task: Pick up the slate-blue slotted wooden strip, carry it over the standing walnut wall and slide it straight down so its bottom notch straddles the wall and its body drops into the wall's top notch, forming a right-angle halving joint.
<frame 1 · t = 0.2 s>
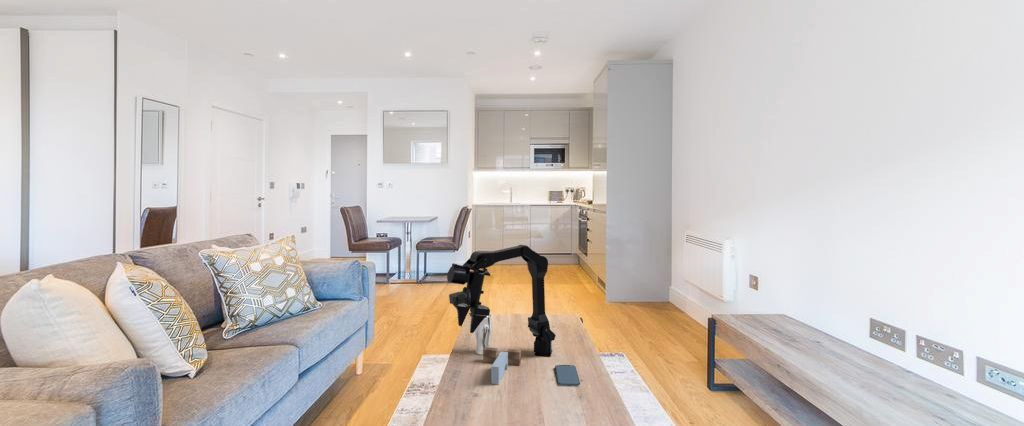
hand: (465, 329, 152), 15 cm above the table, tool pointing down, fingers open, 9 cm apart
beer glass: (482, 352, 171), on the table
slate plate: (499, 375, 149), on the table
smartphone: (567, 378, 148), on the table
walnut plate: (501, 362, 160), on the table
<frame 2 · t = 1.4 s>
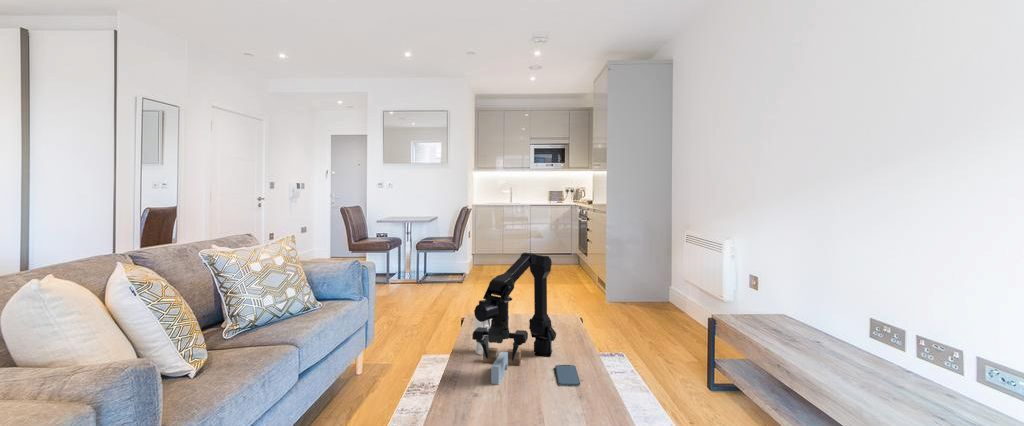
hand: (500, 359, 148), 6 cm above the table, tool pointing down, fingers open, 9 cm apart
nothing on the table moved.
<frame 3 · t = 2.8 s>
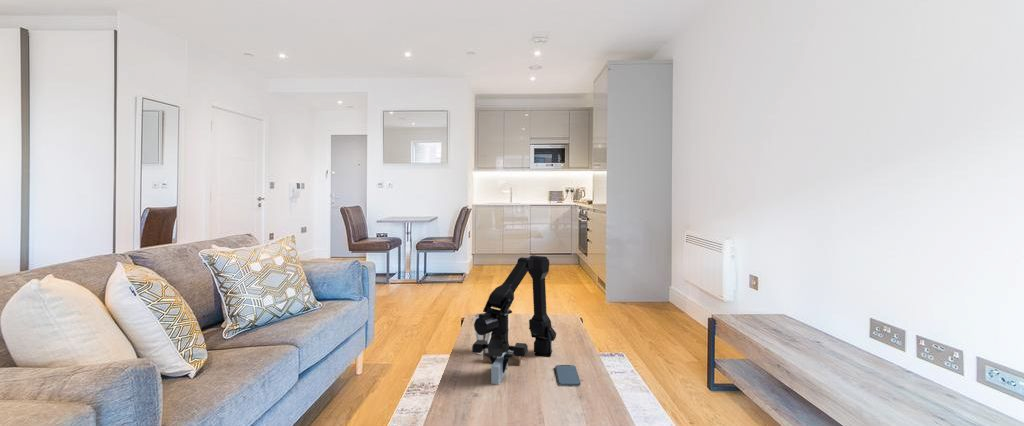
hand: (499, 372, 148), 1 cm above the table, tool pointing down, fingers closed on slate plate, 2 cm apart
slate plate: (499, 375, 149), on the table, touching gripper
everything else where it was.
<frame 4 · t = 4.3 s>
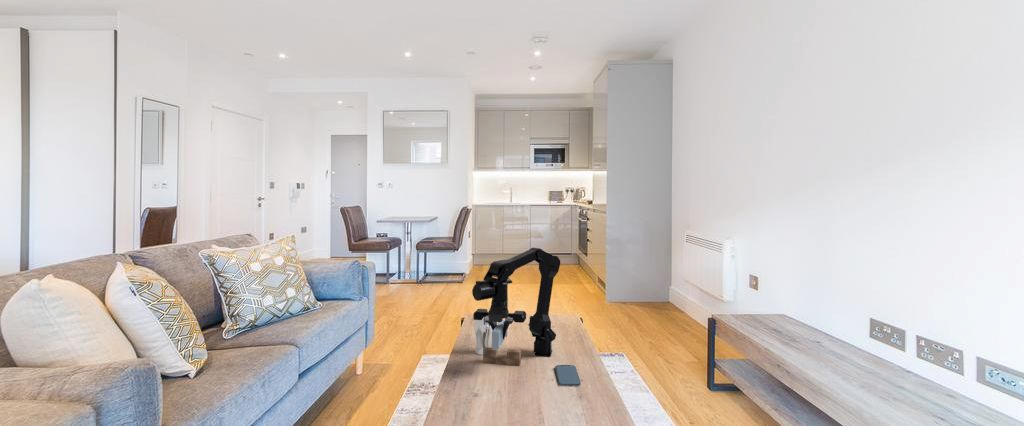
hand: (499, 338, 156), 11 cm above the table, tool pointing down, fingers closed on slate plate, 2 cm apart
slate plate: (499, 342, 156), point 9 cm above the table, touching gripper
everything else where it was.
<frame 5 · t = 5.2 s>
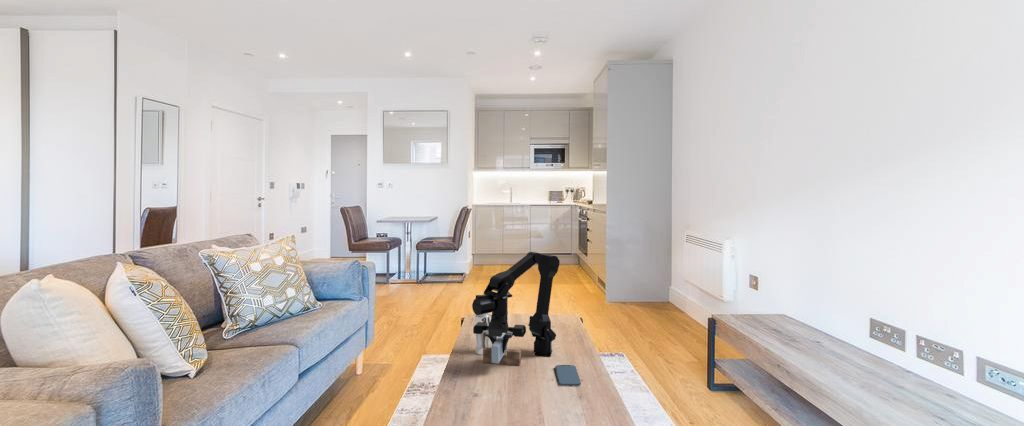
hand: (499, 352, 156), 5 cm above the table, tool pointing down, fingers closed on slate plate, 2 cm apart
slate plate: (499, 355, 156), point 4 cm above the table, touching gripper
everything else where it was.
when the fingers open (2 cm above the table, at t = 6.1 s): slate plate stays where it is, on the table.
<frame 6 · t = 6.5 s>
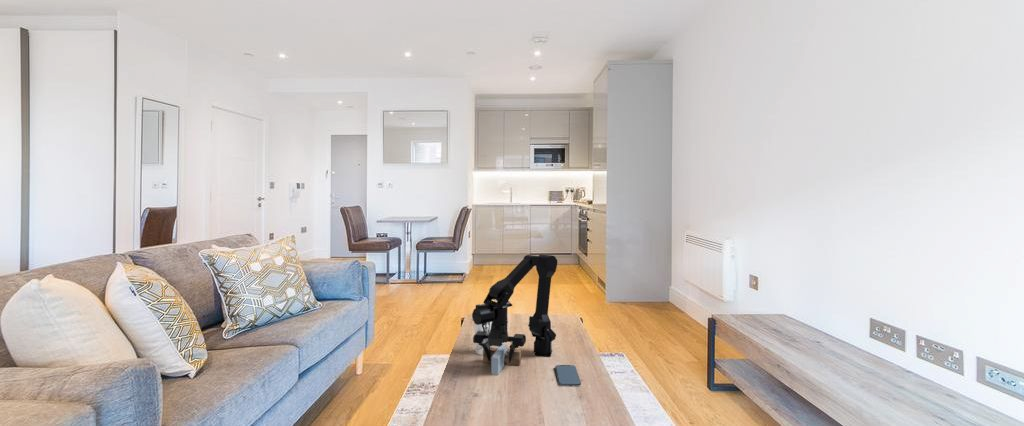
hand: (499, 361, 156), 2 cm above the table, tool pointing down, fingers open, 7 cm apart
slate plate: (499, 367, 156), on the table
everything else where it was.
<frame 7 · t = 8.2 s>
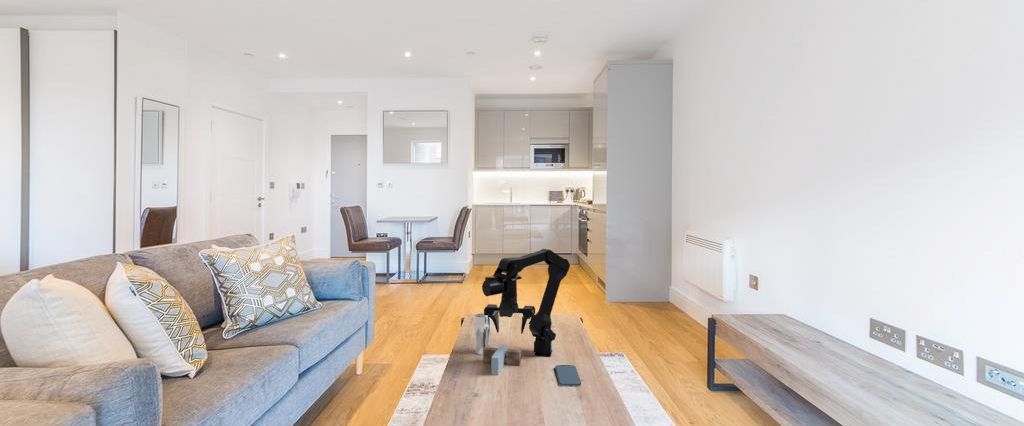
hand: (510, 333, 160), 11 cm above the table, tool pointing down, fingers open, 9 cm apart
nothing on the table moved.
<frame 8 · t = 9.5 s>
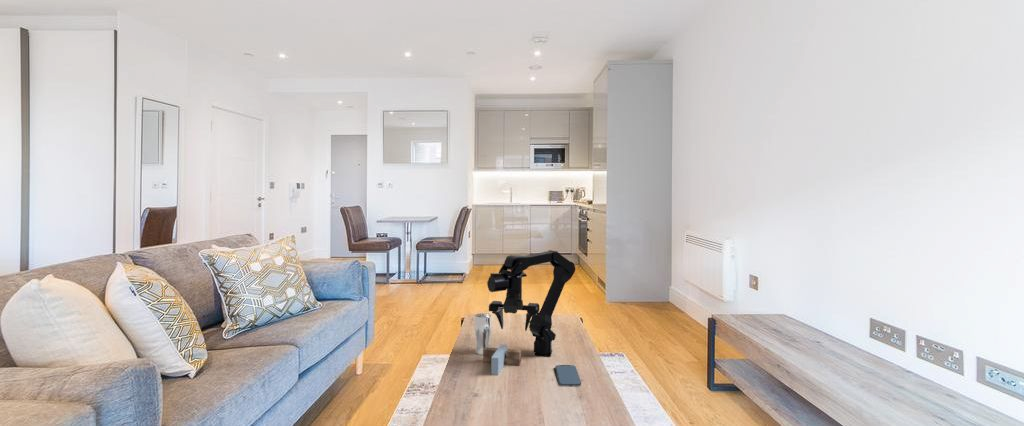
hand: (514, 329, 162), 12 cm above the table, tool pointing down, fingers open, 9 cm apart
nothing on the table moved.
at the end: slate plate 0.0 cm from the target spot on the table beside the walnut plate, on the table; slate plate tilted 0°; the gripper is holding nothing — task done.
